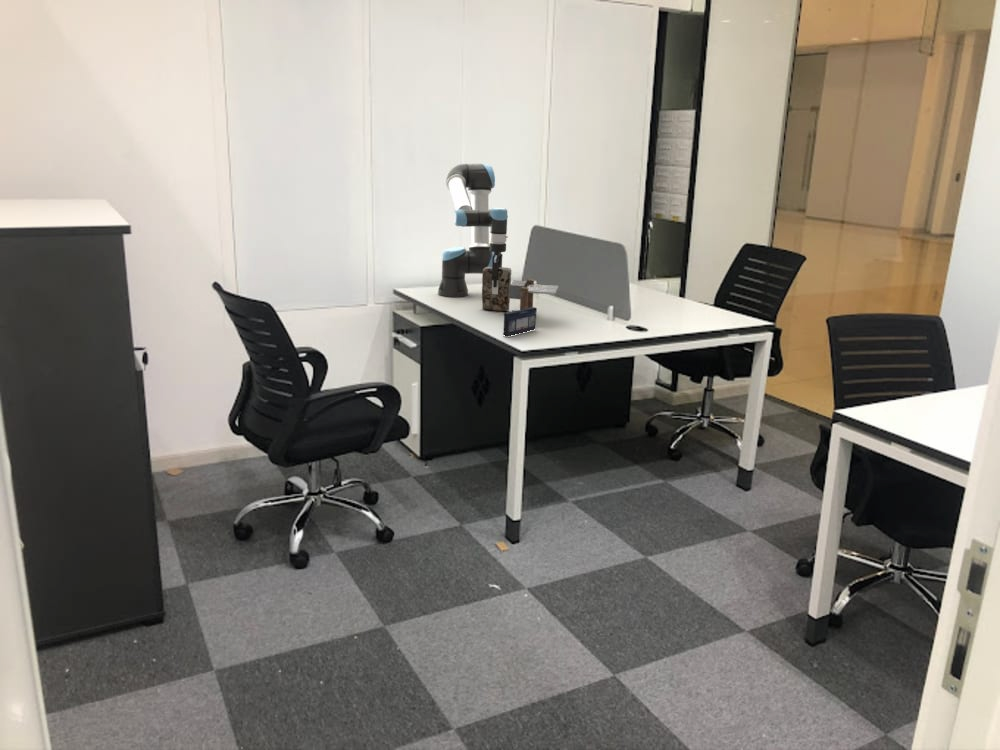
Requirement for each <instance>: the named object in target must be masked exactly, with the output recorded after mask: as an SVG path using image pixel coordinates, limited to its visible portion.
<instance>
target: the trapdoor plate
mask: <svg viewBox="0 0 1000 750" xmlns="http://www.w3.org/2000/svg"><path fill="white" fill-rule="evenodd" d="M521 287H526V288H528V293H533V294H542V295H554V296H555V295H556V293H557V291H558V289H559V285H548V284H538V283H537V284H536V283H534V284H529V286H528V287H527V280H516V279H515V280H513V281H511V285H510V298H509V299H510V300H513V299H514V300H520V297H521Z"/></svg>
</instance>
